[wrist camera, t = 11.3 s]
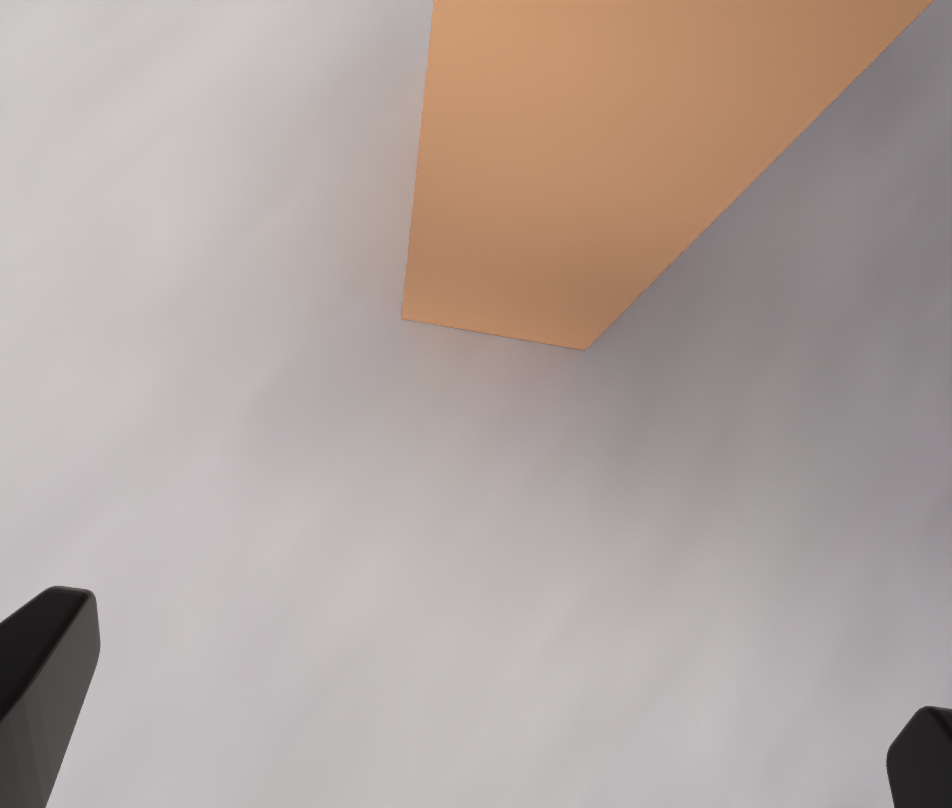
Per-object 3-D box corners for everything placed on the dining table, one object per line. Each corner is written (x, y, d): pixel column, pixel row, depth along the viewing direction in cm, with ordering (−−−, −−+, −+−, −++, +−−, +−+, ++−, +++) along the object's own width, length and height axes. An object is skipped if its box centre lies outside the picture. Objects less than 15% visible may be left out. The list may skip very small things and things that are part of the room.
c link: (584, 350, 18) (975, -43, 6) (401, 319, 18) (449, -158, 6) (614, 100, 19) (990, -621, 7) (443, 66, 19) (554, -748, 7)
